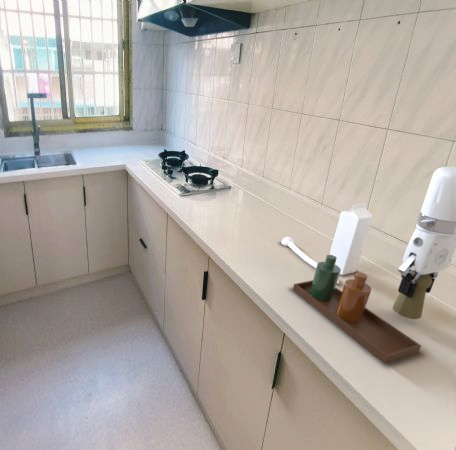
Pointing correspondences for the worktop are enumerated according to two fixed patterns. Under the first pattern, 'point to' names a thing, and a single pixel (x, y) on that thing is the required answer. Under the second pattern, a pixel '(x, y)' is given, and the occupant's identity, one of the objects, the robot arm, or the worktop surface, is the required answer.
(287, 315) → the worktop surface
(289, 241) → the spatula
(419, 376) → the worktop surface
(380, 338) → the tray
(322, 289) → the green bottle
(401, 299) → the cork
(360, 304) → the amber bottle
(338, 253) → the milk
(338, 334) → the worktop surface
